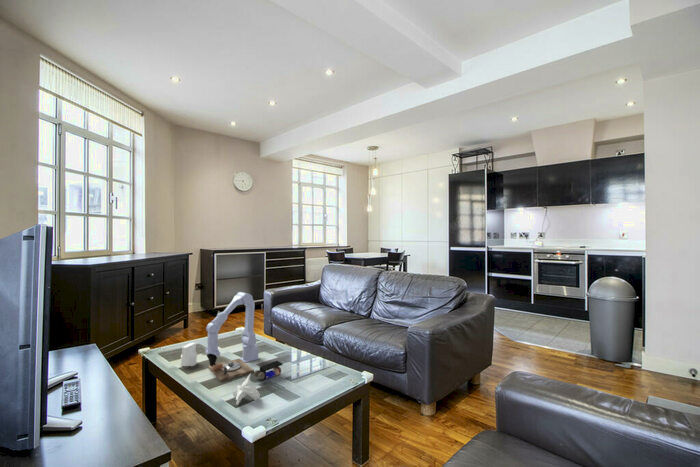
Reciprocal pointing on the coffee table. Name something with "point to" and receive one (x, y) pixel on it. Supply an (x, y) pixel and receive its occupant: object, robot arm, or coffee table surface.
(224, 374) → the base board
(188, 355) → the cylinder with rectangular tab
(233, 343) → the coffee table surface
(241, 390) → the figurine
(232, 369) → the flange plate
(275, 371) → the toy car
